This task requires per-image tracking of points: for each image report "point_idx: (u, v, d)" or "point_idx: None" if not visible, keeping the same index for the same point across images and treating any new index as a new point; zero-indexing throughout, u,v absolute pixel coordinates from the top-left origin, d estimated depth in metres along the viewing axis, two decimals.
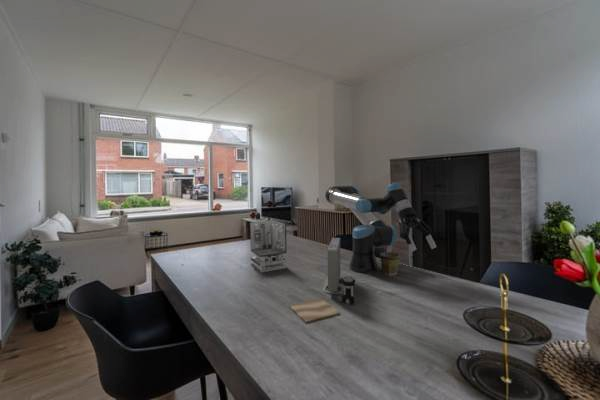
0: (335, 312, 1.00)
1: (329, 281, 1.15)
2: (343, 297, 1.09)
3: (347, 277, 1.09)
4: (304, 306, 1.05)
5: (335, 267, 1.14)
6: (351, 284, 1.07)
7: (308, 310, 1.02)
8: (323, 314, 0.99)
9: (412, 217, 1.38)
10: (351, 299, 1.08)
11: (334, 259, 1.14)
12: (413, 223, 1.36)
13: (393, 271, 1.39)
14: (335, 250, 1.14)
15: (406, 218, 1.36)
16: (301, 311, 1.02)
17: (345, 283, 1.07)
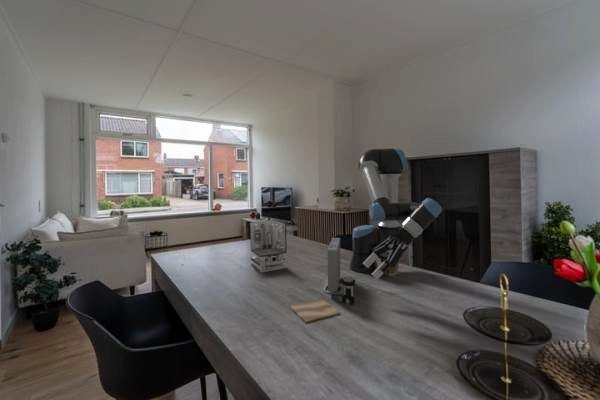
0: (335, 312, 1.00)
1: (329, 281, 1.15)
2: (343, 297, 1.09)
3: (347, 277, 1.09)
4: (304, 306, 1.05)
5: (335, 267, 1.14)
6: (351, 284, 1.07)
7: (308, 310, 1.02)
8: (323, 314, 0.99)
9: None
10: (351, 299, 1.08)
11: (334, 259, 1.14)
12: None
13: (393, 271, 1.39)
14: (335, 250, 1.14)
15: None
16: (301, 311, 1.02)
17: (345, 283, 1.07)
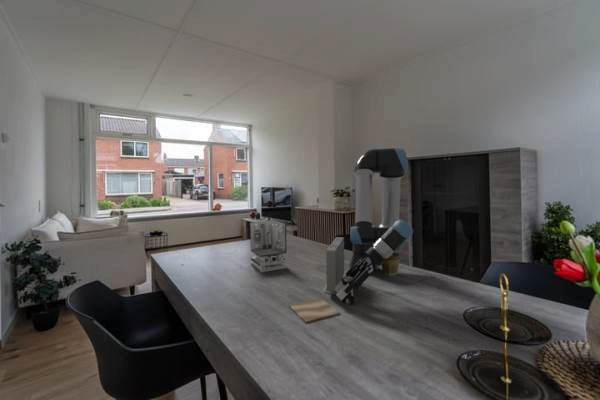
0: (335, 312, 1.00)
1: (328, 281, 1.15)
2: None
3: (347, 277, 1.09)
4: (304, 306, 1.05)
5: (334, 267, 1.13)
6: None
7: (308, 310, 1.02)
8: (323, 314, 0.99)
9: None
10: (351, 299, 1.08)
11: (332, 260, 1.13)
12: None
13: (393, 271, 1.39)
14: (334, 250, 1.13)
15: None
16: (301, 311, 1.02)
17: (345, 283, 1.07)
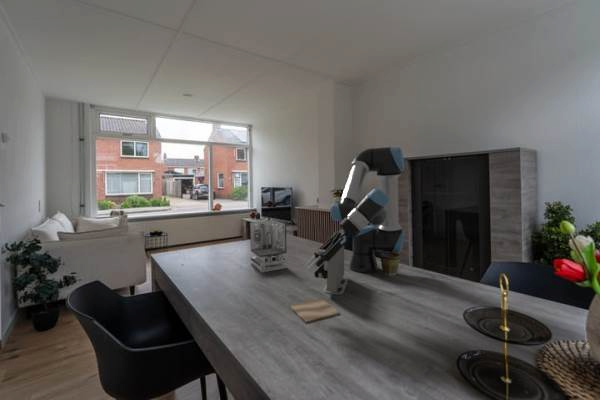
0: (335, 312, 1.00)
1: (328, 281, 1.15)
2: (316, 271, 1.02)
3: (320, 250, 1.03)
4: (304, 306, 1.05)
5: (334, 267, 1.14)
6: None
7: (308, 310, 1.02)
8: (323, 314, 0.99)
9: None
10: (324, 273, 1.01)
11: (332, 259, 1.14)
12: None
13: (393, 271, 1.39)
14: None
15: None
16: (301, 311, 1.02)
17: (317, 255, 1.00)
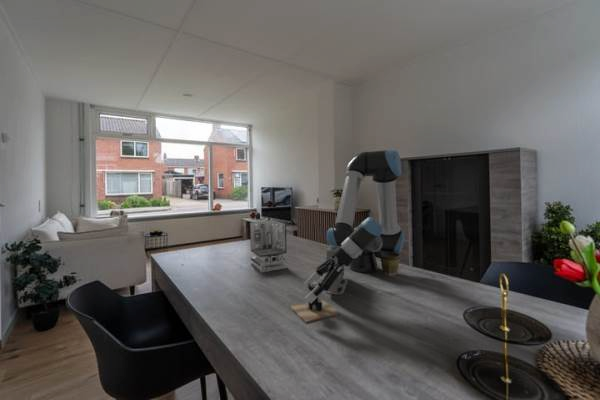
0: (335, 312, 1.00)
1: None
2: (310, 303, 1.03)
3: (314, 282, 1.03)
4: (304, 306, 1.05)
5: None
6: None
7: (308, 310, 1.02)
8: (323, 314, 0.99)
9: None
10: (318, 305, 1.01)
11: None
12: None
13: (393, 271, 1.39)
14: (334, 250, 1.14)
15: None
16: (301, 311, 1.02)
17: (311, 288, 1.01)
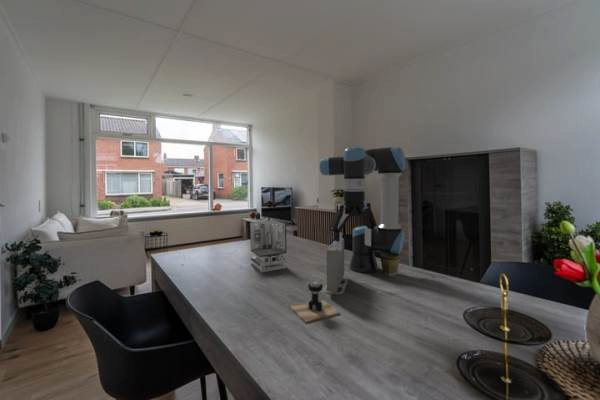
0: (335, 312, 1.00)
1: (328, 281, 1.15)
2: (310, 303, 1.03)
3: (314, 282, 1.03)
4: (304, 306, 1.05)
5: (334, 267, 1.14)
6: (317, 289, 1.00)
7: (308, 310, 1.02)
8: (323, 314, 0.99)
9: (358, 203, 1.01)
10: (318, 305, 1.01)
11: (332, 259, 1.14)
12: (355, 213, 1.01)
13: (393, 271, 1.39)
14: (334, 250, 1.14)
15: (349, 205, 0.99)
16: (301, 311, 1.02)
17: (311, 288, 1.01)
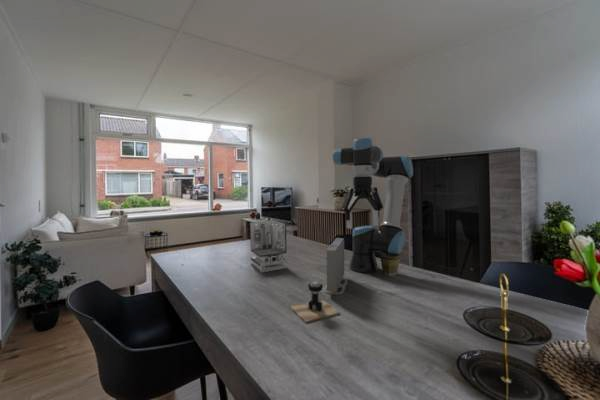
0: (335, 312, 1.00)
1: (328, 281, 1.15)
2: (310, 303, 1.03)
3: (314, 282, 1.03)
4: (304, 306, 1.05)
5: (334, 267, 1.14)
6: (317, 289, 1.00)
7: (308, 310, 1.02)
8: (323, 314, 0.99)
9: (366, 187, 1.15)
10: (318, 305, 1.01)
11: (332, 259, 1.14)
12: (364, 195, 1.14)
13: (393, 271, 1.39)
14: (334, 250, 1.14)
15: (358, 188, 1.13)
16: (301, 311, 1.02)
17: (311, 288, 1.01)
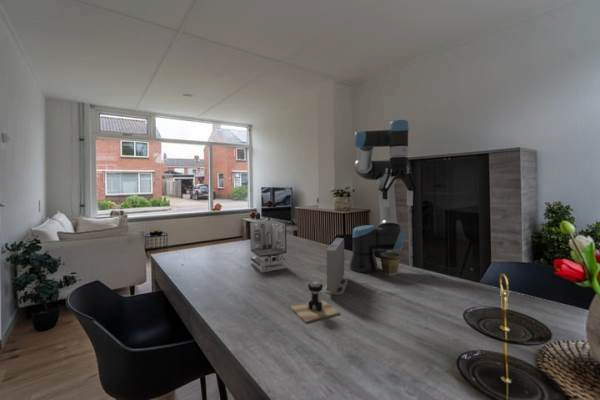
0: (335, 312, 1.00)
1: (328, 281, 1.15)
2: (310, 303, 1.03)
3: (314, 282, 1.03)
4: (304, 306, 1.05)
5: (334, 267, 1.14)
6: (317, 289, 1.00)
7: (308, 310, 1.02)
8: (323, 314, 0.99)
9: (402, 168, 1.19)
10: (318, 305, 1.01)
11: (332, 259, 1.14)
12: (400, 176, 1.19)
13: (393, 271, 1.39)
14: (334, 250, 1.14)
15: (395, 169, 1.17)
16: (301, 311, 1.02)
17: (311, 288, 1.01)
